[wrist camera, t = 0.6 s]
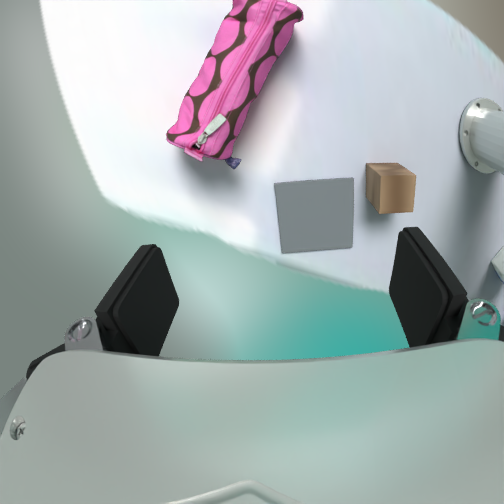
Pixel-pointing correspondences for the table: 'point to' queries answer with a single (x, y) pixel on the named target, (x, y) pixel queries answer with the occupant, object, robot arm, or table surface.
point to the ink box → (499, 263)
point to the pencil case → (232, 77)
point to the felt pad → (315, 214)
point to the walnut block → (390, 187)
